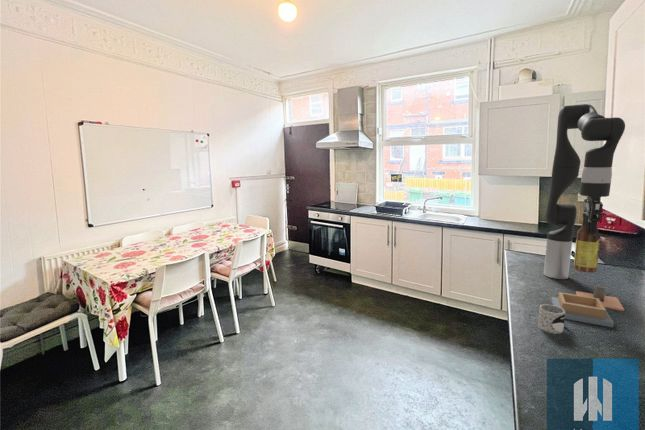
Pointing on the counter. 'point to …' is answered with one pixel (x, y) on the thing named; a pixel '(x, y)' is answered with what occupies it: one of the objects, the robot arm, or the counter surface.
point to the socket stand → (583, 309)
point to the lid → (603, 298)
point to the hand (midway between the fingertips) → (589, 231)
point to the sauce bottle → (586, 248)
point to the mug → (551, 319)
